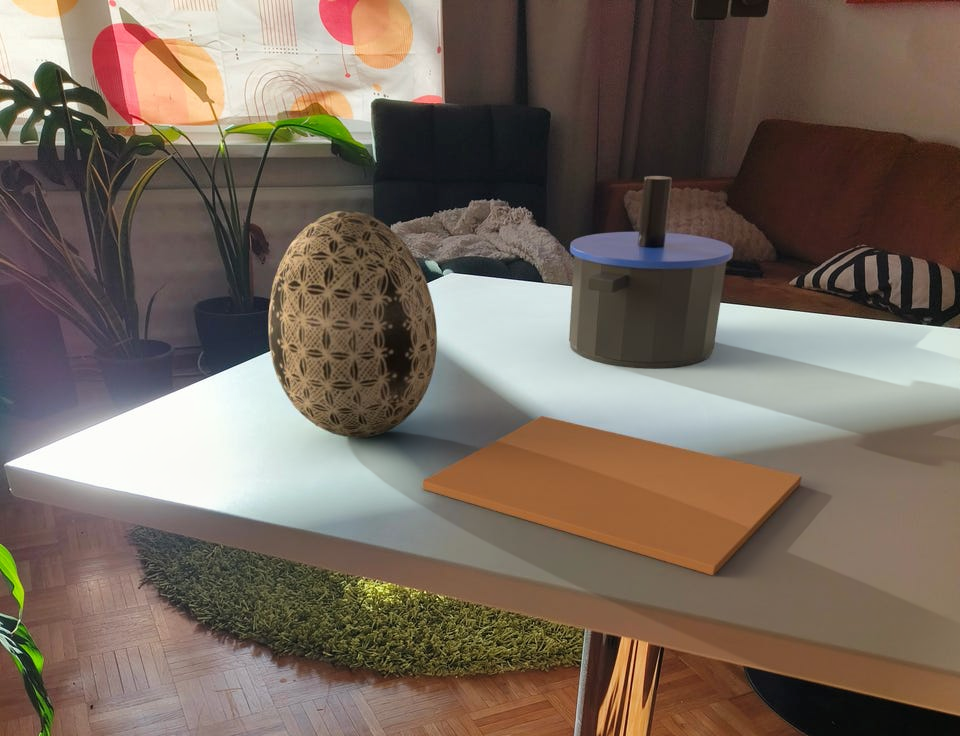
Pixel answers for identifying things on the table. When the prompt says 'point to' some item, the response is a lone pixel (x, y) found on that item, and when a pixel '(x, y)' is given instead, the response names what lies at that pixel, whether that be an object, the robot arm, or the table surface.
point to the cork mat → (620, 491)
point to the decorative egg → (352, 326)
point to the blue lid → (652, 239)
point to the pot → (644, 314)
